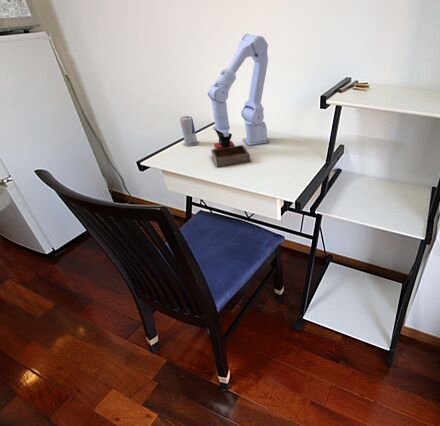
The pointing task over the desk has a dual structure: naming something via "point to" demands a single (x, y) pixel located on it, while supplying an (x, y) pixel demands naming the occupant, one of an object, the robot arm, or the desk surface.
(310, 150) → the desk surface
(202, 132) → the desk surface
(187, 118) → the energy drink
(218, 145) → the red block
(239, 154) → the crate
